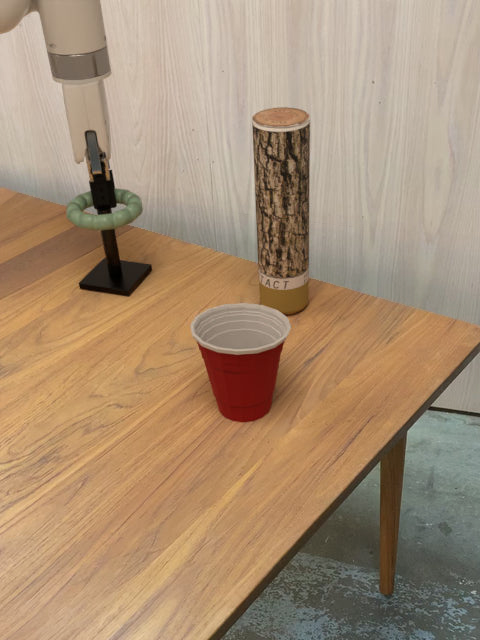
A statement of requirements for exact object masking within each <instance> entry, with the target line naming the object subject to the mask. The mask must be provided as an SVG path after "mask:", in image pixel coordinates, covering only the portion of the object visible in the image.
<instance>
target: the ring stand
mask: <svg viewBox="0 0 480 640" xmlns="http://www.w3.org/2000/svg"><path fill="white" fill-rule="evenodd" d="M111 213H113V209H112V208H111V206H109V205H101V206H98V207H97V210H96V215H102V214H111ZM100 234H101V241H102V247H103V251H104V256H105V257H103V258H102V259H101V260H100V261H99V262H98V263H97V264H96V265H95V266H94V267H93V268H92V269H91V270H90V271H89V272H88V273H87V274H86V275H85V276H84V277H83V278H82V279H81V280H80V281H79V282H78V287H79V290H84V291H90V292H98V293H104V294H111V295H117V296H124V297H131V295H132V294H133V293H134V292H135V291H136V289H137V288H138V287H139V286H140V285H141V284H142V283H143V281H145V280H146V278H147V277H148V276H149V275H150V274H151V272H153V264H151V263H146V262H145V263H144V262H137V261H129V260H124V259H121V257H120V251H119V245H118V239H117V234H116V229H109V230H100Z"/></svg>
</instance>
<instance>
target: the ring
mask: <svg viewBox="0 0 480 640" xmlns="http://www.w3.org/2000/svg"><path fill="white" fill-rule="evenodd" d="M114 191H115V197H116V203H117V205H124V206H126V207H124V208H123V209H120V210H117V211H114V212H112V213H111V214H102V215H98V214H93V213H92V214H91V213H85V212H84V211H85V210H86V209H89V208H92V207H94V205H93V200H92V195H91V190H89V191H86V192H83V193H81V194H78V195H76V196H75V197H74V198H73V199H71V200H70V201H69V202H68V203H67V205H66V219H67V221H68V222H69V223H71V224H73V225H74V226H76V227H77V228H78V229H82V230H89V231H96V232H99V231H100V232H101V230H109V229H115V230H116V229H119V228H123V227H125V226H127V225H130V224H132V223H134V221H136V220H137V219H138V218H139V217H140V216H141V215H142V213H143V211H144V207H143V201H142V198H141V197H140V195H138V194H136V193H134V192H132V191H130V190H128V189H124V188H116V187H115V188H114Z"/></svg>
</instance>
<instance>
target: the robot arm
mask: <svg viewBox="0 0 480 640" xmlns="http://www.w3.org/2000/svg"><path fill="white" fill-rule="evenodd" d="M34 12H37V14H38V15H39V20H40V24H41V29H42V33H43V39H44V43H45V49H46V53H47V58H48V63H49V67H50V72H51V77H52V80H53V81H54V82H56V83H58V84H61V89H62V96H63V97H62V98H63V103H64V109H65V115H66V120H67V126H68V131H69V137H70V142H71V149H72V152H73V153H72V154H73V160H74V163H76V164H77V165H80V164H81V163H84V161H85V163H86V166H87V167H86V168H87V172H88V178H89V180H88V184H89V189H90V190H89V191H91V195H92V200H93V205H94V206H93V209H94V210H96V211H97V207H98V206H101V205H109V206H111V209H116V208H117V205H118V203H116V197H115V191H114V188H116V186H115V180H114V174H113V169H111V165H110V159H111V158H112V137H111V135H112V134H111V123H110V116H109V107H108V101H107V94H106V87H105V83H104V80H105V79H107V78H109V77H110V76H111V75H112V67H111V66H112V65H111V60H110V54H109V47H108V41H107V35H106V29H105V23H104V17H103V11H102V3H101V0H0V35H3V34H6V33H9V32H11V31H13V30H14V29H15V28H16V27H17V26H18V25H19V24H20V23H21V22H22V21H23V19H24V18H25V17H26V16H28V15H30V14H32V13H34Z"/></svg>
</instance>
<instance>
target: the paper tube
mask: <svg viewBox="0 0 480 640" xmlns="http://www.w3.org/2000/svg"><path fill="white" fill-rule="evenodd" d="M310 117H311V115H310V113H308V112H307V111H306V110H303V109H299V108H296V107H287V106H285V107H284V106H282V107H281V106H280V107H269V108H266V109H262V110H259V111H257V112H256V113H254V114H253V116H252V117H251V118H252V122H251V125H252V127H251V128H252V151H253V152H252V153H253V174H254V196H255V197H254V198H255V199H254V200H255V221H256V245H257V246H256V247H257V249H256V250H257V270H258V287H259V288H258V290H259V291H258V292H259V293H258V294H259V303H260V305H264V306H267V307H270V308H273V309H276V310H278V311H279V312H281V313H282V314H283V315H285V316H287V315H288V316H289V315H295V314H297V313H298V312H301V311H303V310H304V309H305V308H306V307H307V305H308V303H309V298H310V297H309V295H310V294H309V289H310V286H309V285H310V284H309V283H310V281H309V280H310V279H309V278H310V186H311V185H310V183H311V181H310V178H311V177H310V175H311V172H310V171H311V169H310V165H311V164H310V162H311V157H310V155H311V119H310Z"/></svg>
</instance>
